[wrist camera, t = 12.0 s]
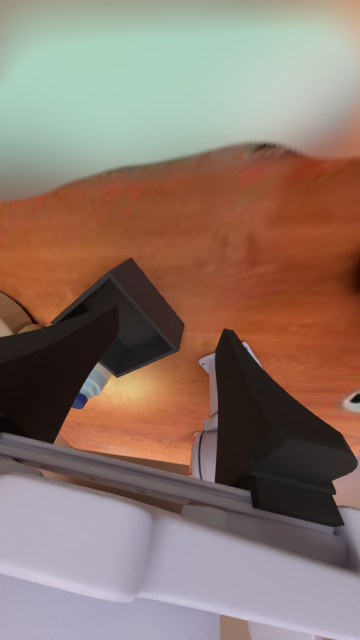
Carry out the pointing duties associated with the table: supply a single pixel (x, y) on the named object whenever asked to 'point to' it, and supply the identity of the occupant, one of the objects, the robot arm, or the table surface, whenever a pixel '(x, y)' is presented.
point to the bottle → (92, 385)
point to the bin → (131, 319)
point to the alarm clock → (13, 318)
